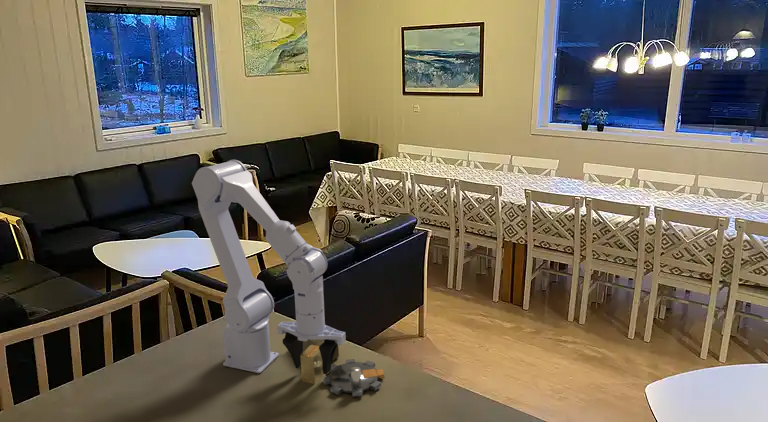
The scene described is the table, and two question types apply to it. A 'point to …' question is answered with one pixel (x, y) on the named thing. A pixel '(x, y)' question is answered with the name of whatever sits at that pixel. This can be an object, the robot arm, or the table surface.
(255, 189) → the robot arm
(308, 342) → the stone block
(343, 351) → the table surface
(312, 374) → the tan rectangular block
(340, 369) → the sprocket
